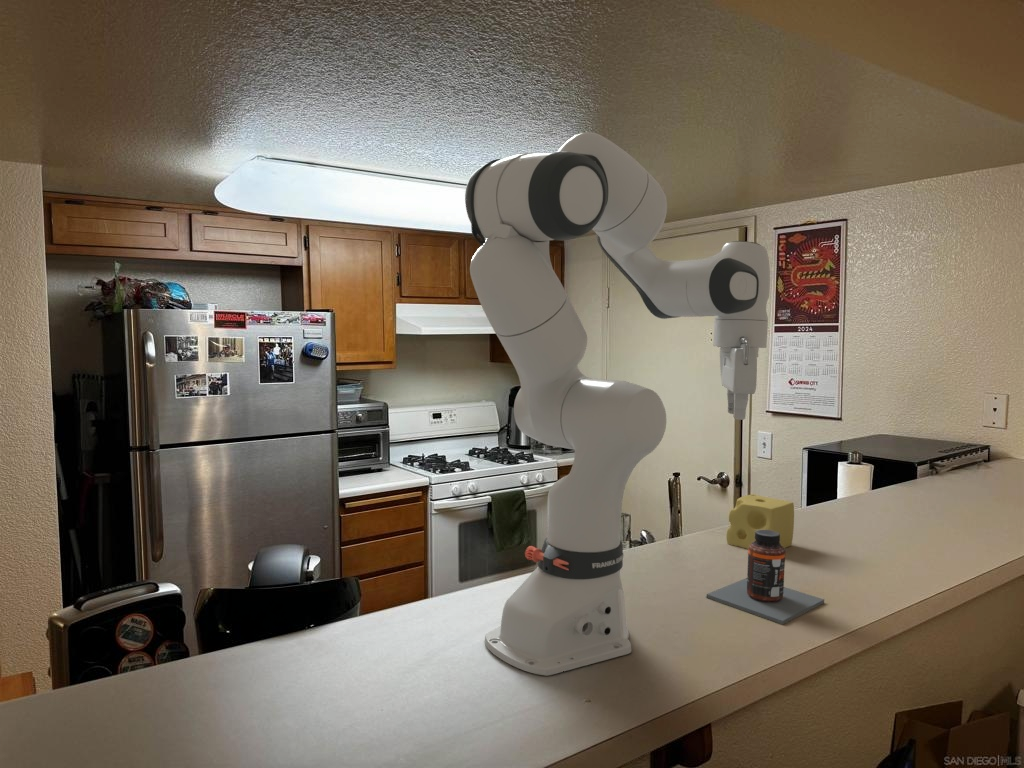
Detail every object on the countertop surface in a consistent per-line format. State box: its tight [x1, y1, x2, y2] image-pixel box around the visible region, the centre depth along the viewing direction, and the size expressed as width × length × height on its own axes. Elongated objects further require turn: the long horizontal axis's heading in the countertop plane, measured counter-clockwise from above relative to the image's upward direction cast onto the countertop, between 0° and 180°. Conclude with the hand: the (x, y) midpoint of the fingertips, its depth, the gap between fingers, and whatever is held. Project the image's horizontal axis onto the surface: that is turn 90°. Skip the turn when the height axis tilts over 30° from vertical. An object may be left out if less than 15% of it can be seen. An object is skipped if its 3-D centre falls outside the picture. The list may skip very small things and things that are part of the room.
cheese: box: [726, 493, 795, 550], centre depth 149 cm, size 10×11×10 cm
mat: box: [706, 577, 825, 625], centre depth 118 cm, size 14×14×1 cm
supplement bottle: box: [746, 530, 786, 602], centre depth 118 cm, size 6×6×11 cm
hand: (735, 416), depth 120 cm, fingers open, 8 cm apart
